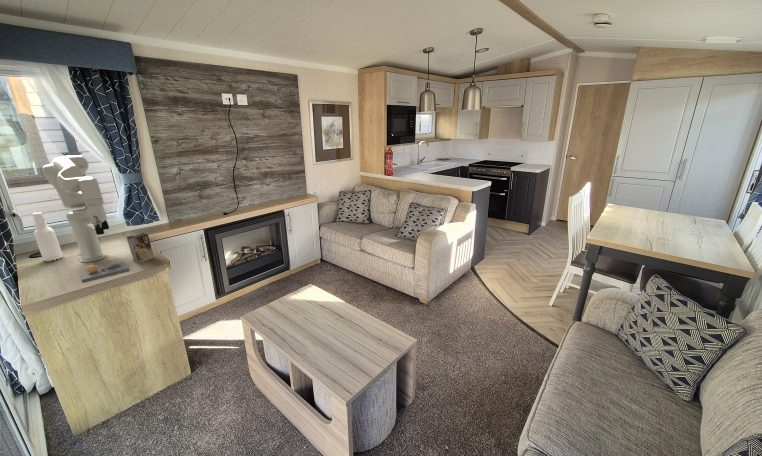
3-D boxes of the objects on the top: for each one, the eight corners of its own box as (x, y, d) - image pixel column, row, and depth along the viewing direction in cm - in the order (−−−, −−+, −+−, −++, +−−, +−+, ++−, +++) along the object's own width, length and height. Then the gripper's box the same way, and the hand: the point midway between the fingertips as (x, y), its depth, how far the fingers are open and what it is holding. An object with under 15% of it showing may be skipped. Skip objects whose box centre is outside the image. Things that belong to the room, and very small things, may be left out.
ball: (85, 274, 173) (83, 266, 172) (93, 270, 177) (90, 263, 176) (93, 274, 173) (90, 267, 171) (100, 270, 177) (98, 263, 176)
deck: (82, 282, 167) (81, 279, 167) (81, 273, 177) (80, 271, 177) (129, 270, 180) (128, 268, 180) (126, 263, 190) (125, 260, 190)
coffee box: (149, 256, 201) (143, 232, 195) (154, 258, 197) (148, 233, 192) (133, 261, 193) (126, 236, 188) (137, 263, 190) (130, 238, 185)
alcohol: (67, 256, 202) (51, 211, 192) (51, 262, 193) (34, 215, 184) (55, 255, 203) (39, 210, 193) (39, 261, 195) (21, 214, 185)
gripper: (90, 199, 174) (99, 228, 179) (79, 205, 159) (89, 237, 164) (107, 197, 177) (115, 226, 182) (98, 204, 162) (107, 235, 168)
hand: (103, 231), depth 173 cm, fingers open, 9 cm apart
